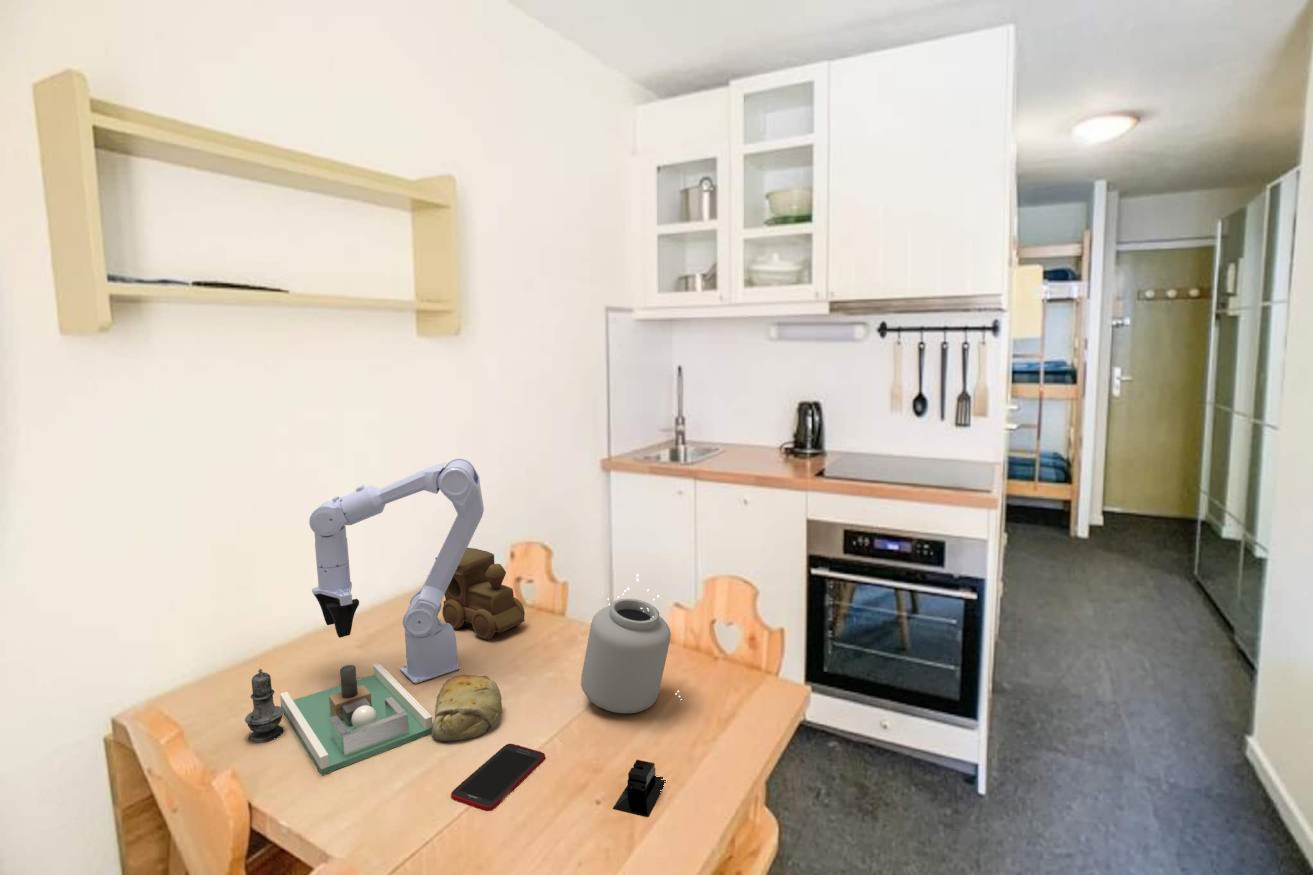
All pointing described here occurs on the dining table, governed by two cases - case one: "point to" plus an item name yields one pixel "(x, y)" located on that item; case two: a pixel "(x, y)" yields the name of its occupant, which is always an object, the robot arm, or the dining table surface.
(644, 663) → the jar
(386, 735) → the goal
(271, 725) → the salt shaker
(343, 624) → the robot arm
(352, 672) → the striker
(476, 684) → the pastry
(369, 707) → the ball
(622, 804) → the black stepped block
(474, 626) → the wooden toy train
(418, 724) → the pitch
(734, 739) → the dining table surface
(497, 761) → the cell phone
